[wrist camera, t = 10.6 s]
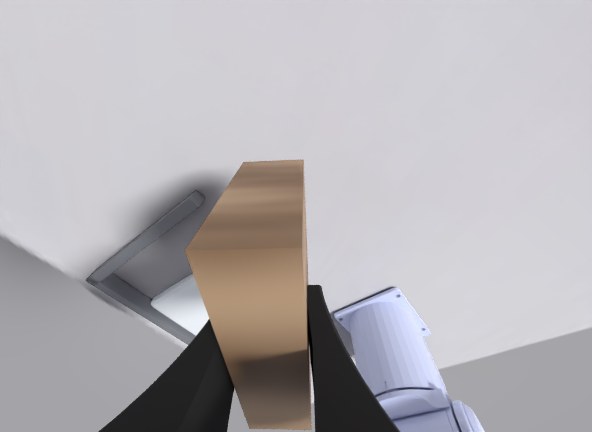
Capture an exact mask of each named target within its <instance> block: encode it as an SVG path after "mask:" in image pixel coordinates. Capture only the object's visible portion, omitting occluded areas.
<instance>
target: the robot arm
mask: <svg viewBox="0 0 592 432" xmlns="http://www.w3.org/2000/svg"><path fill="white" fill-rule="evenodd" d="M307 313H308V335H309V348H310V357H311V367H312V376H313V386H314V405H315V432H485V431H484V430H483V428H482V426H481V424H480V423H479V421H478V419H477V417H476V415H475V414H474V412H473V411H472V409H471V408H470V407H468V406H466V405H465V404H463V403H462V402H461V401H460V400H456V401H453V402H452V401H451V400H450V398H449V397H448V395H447V391H446V387H445V385H444V382H443V380H442V378H441V376H440V373H439V371H438V369H437V367H436V364H435V362H434V360H433V358H432V355H431V353H430V351H429V349H428V346H427V344H426V342H425V340H424V337H426V336H428V335H430V334H431V332H430V330H429V328H428V327H427V326H426V324H425V323H424V322H423V320H422V319H421V318H420V316H419V315H418V314H417V312H416V311H415V309H414V308H413V307H412V305H411V304H410V303H409V301H408V300H407V299H406V297H405V296H404V295H403V293H402V292H401V291H400V289H399V288H392V289H389V290H387V291H385V292H382V293H380V294H378V295H375V296H373V297H371V298H368V299H366V300H364V301H361V302H359V303H357V304H354V305H352V306H350V307H347V308H345V309H343V310H340V311H338V312H336V313H335V314H334V318H335V319H336V320H337V321H338V322H339V323H340V324H341V325H342V326H343V327H344V328H345V329H346V330H347V331H348V332H349V333H350V334H351V338H352V344H353V349H354V355H355V361H356V366H357V368H356V366H355V364H354V362H353V361H352V359H351V357H350V355H349V354H348V352H347V350H346V348H345V346H344V344H343V342H342V340H341V338H340V336H339V334H338V332H337V330H336V328H335V325H334V323H333V321H332V318H331V316H330V314H329V311H328V308H327V305H326V303H325V299H324V296H323V292H322V287H321V286H320V285H307ZM233 392H234V385H233V382H232V379H231V376H230V374H229V371H228V368H227V365H226V363H225V360H224V357H223V355H222V352H221V349H220V346H219V344H218V341H217V338H216V335H215V333H214V330H213V327H212V324H211V322H210V319H209V320H208V321H207V322H206V324H205V325H204V326H203V328H202V329H201V330H200V332H199V333H198V334H197V335H196V337H195V338H194V339H193V340H192V342H191V343H190V344H189V345H188V346H187V348H186V349H185V350H184V351H183V352H182V353H181V354H180V356H179V357H178V358H177V359H176V360H175V361H174V362H173V363H172V364H171V365H170V367H169V368H168V369H167V370H166V371H165V372H164V373H163V374H162V375H161V376H160V377H159V378H158V379H157V380H156V381H155V382H154V383H153V384H152V385H151V386H150V387H149V388H148V389H147V390H146V391H145V392H143V393H142V394H141V395H140V396H139V397H138V398H137V399H136V400H135V401H134V402H132V403H131V404H130V405H129V406H128V407H127V408H126V409H125V410H124V411H123V412H121V414H119V415H118V416H117V417H116V418H114V419H113V420H112V421H111V422H110V423H108V424H107V425H106V426H105V427H104V428H102V429H101V430H100V431H99V432H227V427H228V420H229V414H230V409H231V403H232V397H233Z"/></svg>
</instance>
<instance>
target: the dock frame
mask: <svg viewBox="0 0 592 432" xmlns="http://www.w3.org/2000/svg"><path fill="white" fill-rule="evenodd" d="M204 199H205V198H204V197H203V196H202V195H201V194H200V193H199V192H198V191H197V190H196V191H195V192H193V193H192V194H191V195H190V196H188V197H187V198H186V199H185V200H183V201H182V202H181V203H180V204H178V205H177V206H176V207H175V208H173V209H172V210H171V211H170V212H168V213H167V214H166V215H164V216H163V217H162V218H161V219H159V220H158V221H157V222H156V223H154V224H153V225H152V226H151V227H149V228H148V229H147V230H146V231H144V232H143V233H142V234H141V235H139V236H138V237H137V238H136V239H134V240H133V241H132V242H131V243H129V244H128V245H127V246H126V247H124V248H123V249H122V250H120V251H119V252H118V253H117V254H115V255H114V256H113V257H112V258H110V259H109V260H108V261H107V262H105V263H104V264H103V265H102V266H100V267H99V268H98V269H97V270H95V271H94V272H93V273H92V274H91V275H90V276H89V277H88V278H87V279H86V280H85V281H87V282H88V283H90V284H92V285H93V286H95V287H96V288H98V289H100V290H101V291H103V292H104V293H106V294H108V295H109V296H111V297H112V298H114V299H116V300H117V301H119V302H120V303H122V304H124V305H125V306H127V307H128V308H130V309H132V310H133V311H135V312H136V313H138V314H140V315H141V316H143V317H144V318H146V319H148V320H149V321H151V322H152V323H154V324H156V325H157V326H159V327H160V328H162V329H164V330H165V331H167V332H168V333H170V334H172V335H173V336H175V337H176V338H178V339H180V340H181V341H183V342H184V343H186V344H188V345H189V344H190V343H191V342H192V340H193V339H194V338H195V337H196V336H195V335H194V334H192V333H191V332H189V331H188V330H186V329H185V328H183V327H182V326H181V325H179V324H177V323H176V322H174V321H173V320H171V319H170V318H168V317H167V316H165V315H164V314H162V313H161V312H159V311H158V310H156V309H155V308H154V307H153V306H152V305H151V301H152V300H151V299H150V298H148V297H147V296H145V295H144V294H142V293H141V292H139V291H138V290H136V289H135V288H133V287H132V286H130V285H129V284H127V283H126V282H124V281H123V280H121V279H120V278H118V277H117V276H115V275H114V274H112V272H114V271H115V270H116V269H118V268H119V267H120V266H122V265H123V264H124V263H126V262H127V261H128V260H130V259H131V258H132V257H134V256H135V255H136V254H137V253H139V252H140V251H141V250H143V249H144V248H145V247H147V246H148V245H149V244H151V243H152V242H153V241H155V240H156V239H157V238H159V237H160V236H161V235H163V234H164V233H165V232H167V231H168V230H169V229H170V228H172V227H173V226H174V225H176V224H177V223H178V222H180V221H181V220H182V219H184V218H185V217H186V216H188V215H189V214H190V213H192V212H193V211H194V210H196V209H197V208H198V207H199V206H200V205H201V203H202V202H203V201H204Z"/></svg>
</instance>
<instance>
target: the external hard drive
mask: <svg viewBox="0 0 592 432" xmlns="http://www.w3.org/2000/svg"><path fill="white" fill-rule="evenodd" d="M151 305H152V306H153V307H154V308H155V309H156V310H158V311H159V312H161V313H162V314H164V315H165V316H167V317H168V318H170V319H171V320H173V321H174V322H176V323H177V324H179V325H181V326H182V327H183V328H185V329H186V330H188V331H189V332H191V333H192V334H194V335H195V336H196V335H197V334H198V333H199V332H200V330H201V329H202V328H203V326H204V325H205V324H206V322H207V321H208V320H209V316H208V313H207V311H206V308H205V305H204V303H203V300H202V297H201V294H200V292H199V289H198V286H197V283H196V281H195V278H194V275H193V273H192V274H191V275H189V276H188V277H186V278H184V279H183V280H181V281H179V282H178V283H176V284H175V285H173V286H171V287H170V288H168V289H166V290H165V291H163V292H161V293H160V294H158V295H157V296H155V297H154V298H153V300H152V301H151Z"/></svg>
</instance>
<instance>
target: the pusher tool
mask: <svg viewBox="0 0 592 432" xmlns="http://www.w3.org/2000/svg"><path fill="white" fill-rule="evenodd" d="M185 253H186V256H187V259H188V261H189V264H190V267H191V270H192V272H193V275H194V278H195V281H196V283H197V286H198V289H199V292H200V294H201V297H202V300H203V303H204V305H205V308H206V311H207V313H208V316H209V319H210V322H211V324H212V327H213V330H214V333H215V335H216V338H217V341H218V344H219V346H220V349H221V352H222V355H223V357H224V360H225V363H226V365H227V368H228V371H229V374H230V376H231V379H232V382H233V385H234V387H235V390H236V393H237V396H238V398H239V401H240V404H241V406H242V409H243V412H244V415H245V417H246V420H247V423H248V426H249V428H250V429H297V430H311V377H310V348H309V335H308V313H307V285H308V264H307V238H306V212H305V187H304V161H303V160H282V161H259V162H243V164H242V165H241V167H240V168H239V170H238V171H237V173H236V174H235V176H234V177H233V179H232V180H231V182H230V183H229V185H228V186H227V188H226V189H225V191H224V192H223V194H222V195H221V197H220V198H219V200H218V201H217V203H216V204H215V206H214V207H213V209H212V210H211V212H210V213H209V215H208V216H207V218H206V219H205V221H204V222H203V224H202V225H201V227H200V228H199V230H198V231H197V233H196V234H195V236H194V237H193V239H192V240H191V242H190V243H189V245H188V246H187V248H186V249H185Z"/></svg>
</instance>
